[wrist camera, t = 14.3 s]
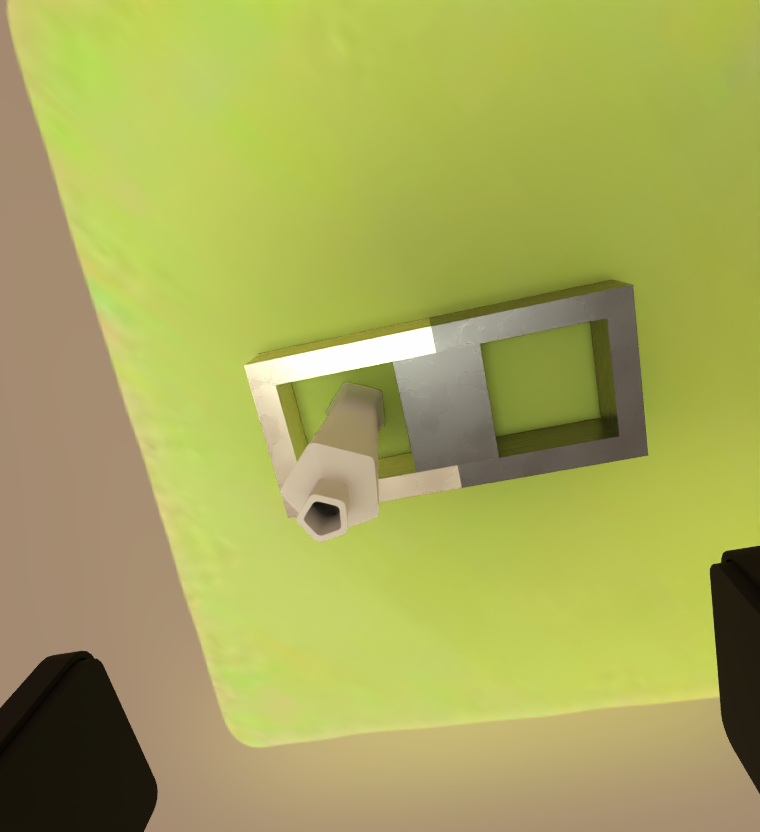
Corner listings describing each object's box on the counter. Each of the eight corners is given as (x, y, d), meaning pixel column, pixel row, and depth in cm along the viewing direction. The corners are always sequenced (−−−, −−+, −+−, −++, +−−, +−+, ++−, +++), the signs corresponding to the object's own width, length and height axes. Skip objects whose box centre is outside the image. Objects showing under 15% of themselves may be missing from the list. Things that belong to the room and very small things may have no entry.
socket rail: (611, 279, 34) (632, 284, 31) (627, 435, 37) (648, 455, 34) (259, 353, 37) (243, 365, 34) (298, 494, 40) (288, 518, 36)
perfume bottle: (317, 378, 37) (257, 469, 23) (385, 374, 37) (367, 463, 23) (324, 445, 39) (273, 570, 24) (390, 441, 38) (377, 566, 24)
